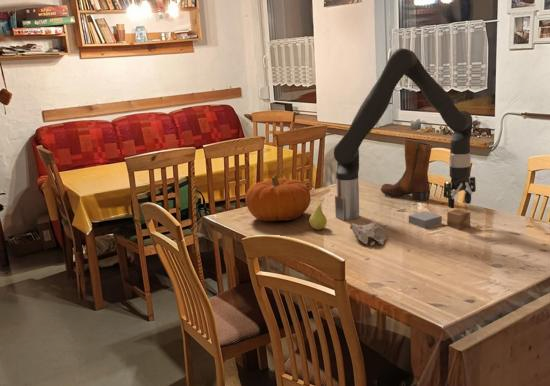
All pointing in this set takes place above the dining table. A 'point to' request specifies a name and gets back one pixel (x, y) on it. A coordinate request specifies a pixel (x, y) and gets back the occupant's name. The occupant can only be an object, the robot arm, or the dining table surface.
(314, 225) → the fruit
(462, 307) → the dining table surface
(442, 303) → the dining table surface
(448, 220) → the walnut cube
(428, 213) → the slate block
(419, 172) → the boot
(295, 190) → the pumpkin
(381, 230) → the stone
